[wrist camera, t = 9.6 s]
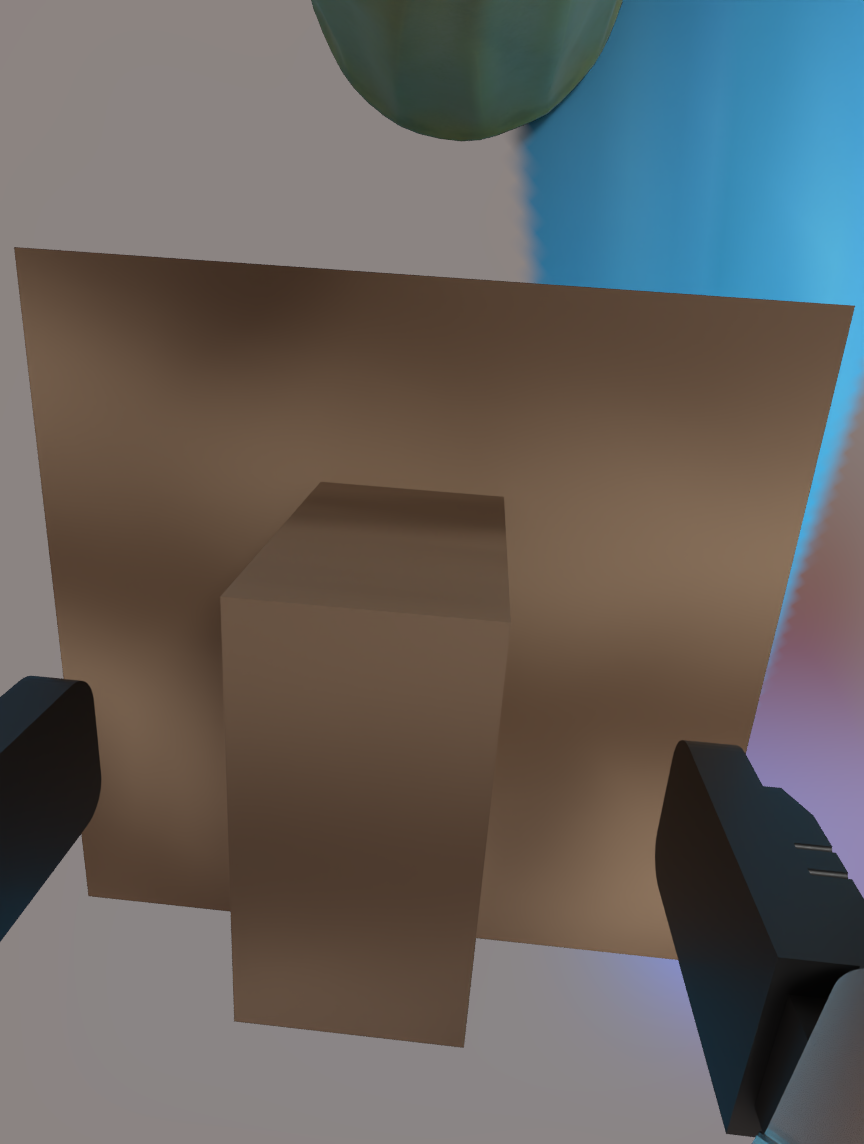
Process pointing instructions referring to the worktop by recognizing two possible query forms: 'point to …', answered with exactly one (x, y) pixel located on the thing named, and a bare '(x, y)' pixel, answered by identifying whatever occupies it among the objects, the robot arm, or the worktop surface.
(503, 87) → the vase
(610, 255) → the worktop surface
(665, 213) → the worktop surface
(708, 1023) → the robot arm
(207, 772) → the lid
